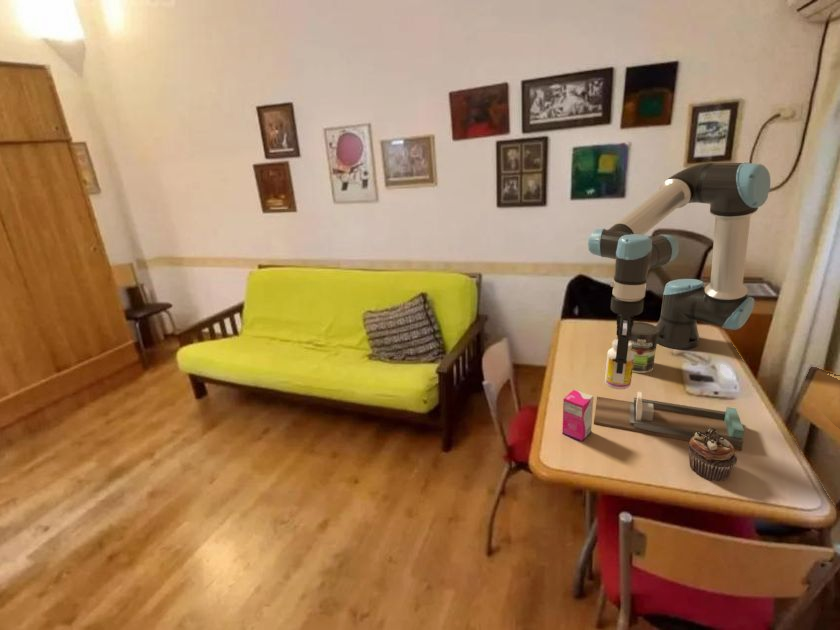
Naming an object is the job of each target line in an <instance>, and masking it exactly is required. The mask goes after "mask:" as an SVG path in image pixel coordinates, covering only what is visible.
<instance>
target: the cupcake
mask: <svg viewBox="0 0 840 630" xmlns="http://www.w3.org/2000/svg"><path fill="white" fill-rule="evenodd" d="M715 430H716V429H713V428H712V429H709V430H708V431H705V433H702V432H699V431H697V432H696V433H695V436H693V437H692V438H691V440H690V441H688V458H689V459H688V460H689V467H690V468H691V471H693V472H694V473H695V474H696V475H697V476H699V477H700V478H703V479H705V480H707V481H714V482H723V481H726V480H727V479H728V478H729V477H730V475H731V473H732V471H733V469H734V468H736V467H735V466H736V465H737V464H738V456H737V454H735V453H736V450H735V449H734V447H733V445H732V444H731V443H730V442H729V441H727V440H726V439H725V438H724V437H723V436H721V435H719V434H718V433H717V432H716V431H715ZM717 435H719V436H717Z"/></svg>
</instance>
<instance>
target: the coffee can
mask: <svg viewBox="0 0 840 630" xmlns="http://www.w3.org/2000/svg"><path fill="white" fill-rule="evenodd" d="M658 334H659V328H658V327H656V325H655V324H652V323H648V322H643V321H642V322H641V321H634V323H633V327H632V331H631V336H630V337H629V341H630V342H631V343H632V348H631V349H630V350H631V351H632V352H633V353H634V362H633V370H632V373H634V374H635V373H636V374H647V373H650V372H652V371H653V370H654V363H655V358H656V352H657V351H656V350H657V344H658V343H657V340H658Z"/></svg>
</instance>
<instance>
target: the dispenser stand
mask: <svg viewBox="0 0 840 630" xmlns="http://www.w3.org/2000/svg"><path fill="white" fill-rule="evenodd" d="M636 400H637V397H634V399H633V401H628V400H627V401H626V400H620V399H616V398H608V397H604V396H602V397H601V396H596V402H595V411H594V419H593V425H597V426H604V427H609V428H615V429H619V430H626V431H631V432H636V433H642V434H648V435H652V436H657V437H664V438H669V439H675V440H681V441H685V442H686V441H687V442H690V440H691V438H692V437H693V436H695V433H696V432H697V431H699V432H702V433H705V431H708V430H709V429H712V428H713V429H716V430H715V431H716V432H717V433H718V434H719V435H721V436H723V437H724V438H725V439H726V440H727V441H729V442H730V443H731V444H732V445H733V447H734V449H735V451H739V452H740V451H742V449H743V443H744V439H743V438H744V433H745V430H744V427H743V424H742V422H741V421H742V420H741V418H740V416H739V413H738V410H737V408H735V407H726V409H725V410H726V411H722V410H718V409H710V408H705V407H698V406H697V407H696V406H691V405H684V404H678V403H671V402H666V401H657V400H654V399H653V400H652V399H646V398H642V402H644V403H650V404H653V409H654V414H653V420H652V421H648V420H642V419H641V421H638V420H636ZM719 435H717V436H719Z"/></svg>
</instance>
